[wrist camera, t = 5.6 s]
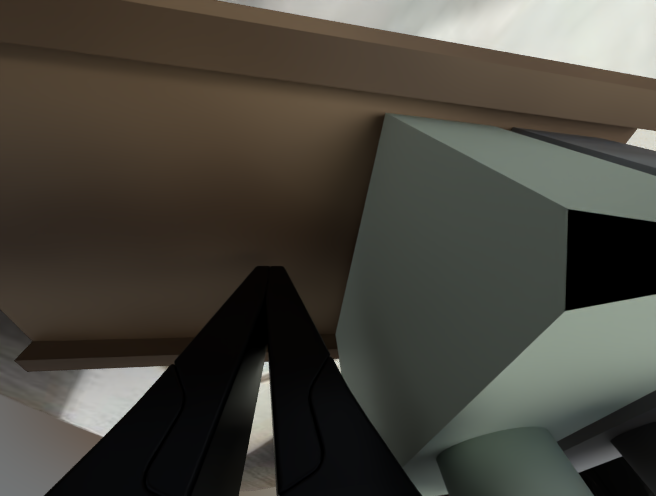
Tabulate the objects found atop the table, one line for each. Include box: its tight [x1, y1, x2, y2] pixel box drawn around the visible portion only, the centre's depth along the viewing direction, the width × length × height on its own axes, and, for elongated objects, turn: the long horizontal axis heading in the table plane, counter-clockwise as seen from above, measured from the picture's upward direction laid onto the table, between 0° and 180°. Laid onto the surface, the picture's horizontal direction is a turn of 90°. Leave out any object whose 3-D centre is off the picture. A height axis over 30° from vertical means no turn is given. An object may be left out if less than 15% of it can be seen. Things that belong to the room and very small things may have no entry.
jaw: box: [335, 113, 656, 496], centre depth 6 cm, size 9×3×7 cm, turn 173°
